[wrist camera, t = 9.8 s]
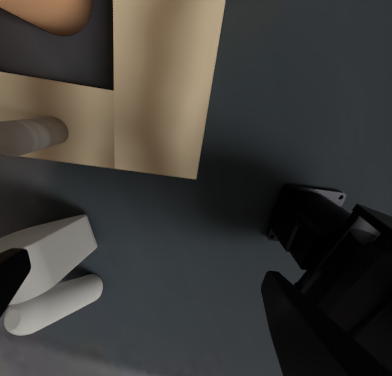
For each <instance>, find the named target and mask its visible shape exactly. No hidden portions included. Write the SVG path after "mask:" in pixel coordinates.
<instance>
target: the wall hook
mask: <svg viewBox="0 0 392 376" xmlns="http://www.w3.org/2000/svg"><path fill="white" fill-rule="evenodd" d="M11 248H24V249H26V250H27V251H28V254H29V258H30V262H31V270H30V272H29V274H28V276H27V277H26V279H25V280H24V282H23V283H22V285H21V287H20V288H19V290H18V291H17V293H16V294H15V296H14V297H13V299H12V301H11V302H10V304H9V305H11V306H10V307H9V309H8V310H7V312H6V314H5V317H4V325H5V328H6V330H7V331H8V332H10V333H12V334H15V335H27V334H31V333H34V332H36V331H38V330H40V329H42V328H44V327H46V326H48V325H50V324H52V323H53V322H55V321H57V320H59V319H61V318H63V317H65V316H67V315H69V314H71V313H73V312H75V311H77V310H78V309H80V308H82V307H84V306H86V305H88V304H90V303H92V302H94V301H96V300H97V299H98V298H99V297H100V295H101V293H102V290H103V284H102V281H101V279H100V278H99V277H98V276H97V275H95V274H89V275H86V276H82V277H79V278H76V279H72V280H69V281H66V282H62V283H59V284H57V283H58V282H59V281H60V280H61V279H62V278H64V277H65V276H66V275H67V274H68V273H69V272H70V271H71V270H72V269H74V268H75V267H76V266H77V265H78V264H79V263H80V262H81V261H83V260H84V259H85V258H86V257H87V256H88V255H89V254H90V253H91V252H93V251H94V250H95V249H96V248H97V243H96V240H95V237H94V235H93V232H92V229H91V226H90V223H89V220H88V218H87V215H85V214H84V215H78V216H74V217H70V218H66V219H62V220H58V221H54V222H49V223H45V224H41V225H37V226H33V227H29V228H26V229H23V230H20V231H17V232H14V233H11V234H9V235H6V236H4V237H1V238H0V253H1V252H3V251H6V250H8V249H11Z"/></svg>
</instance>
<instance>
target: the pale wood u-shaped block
mask: <svg viewBox="0 0 392 376" xmlns="http://www.w3.org/2000/svg"><path fill="white" fill-rule="evenodd" d="M224 6H225V0H113V47H114V91H112V90H106V89H100V88H94V87H88V86H82V85H76V84H70V83H64V82H58V81H52V80H46V79H40V78H34V77H28V76H23V75H17V74H11V73H5V72H0V154H3V155H5V156H8V157H17V156H22V157H30V158H37V159H45V160H52V161H60V162H68V163H75V164H83V165H90V166H98V167H105V168H113V169H121V170H128V171H136V172H143V173H151V174H159V175H166V176H174V177H181V178H189V179H196V177H197V171H198V165H199V159H200V153H201V147H202V141H203V134H204V128H205V122H206V116H207V110H208V104H209V98H210V92H211V86H212V80H213V74H214V67H215V61H216V55H217V49H218V43H219V37H220V31H221V25H222V19H223V13H224Z"/></svg>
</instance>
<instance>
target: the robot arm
mask: <svg viewBox="0 0 392 376" xmlns="http://www.w3.org/2000/svg"><path fill="white" fill-rule="evenodd" d="M288 188H290V189H289V191H287V189H288ZM340 195H341V196H340ZM339 196H340V197H339ZM338 197H339V198H338ZM345 198H346V194H345V193H343V192H341V191H334V190H327V189H320V188H312V187H305V186H298V185H290V184H287V185H285V186H283V188H282V191H281V194H280V196H279V199H278V202H277V204H276V205H275V207H274V210H273V213H272V216H271V219H270V221H269V228H268V230H267V233H266V236H267V238H268V239H269V240H273V241H280V243H281V244H282V246H283V247H284V249H285V250H286V251H287V252H290V253H291V255H292V256H293V258H294V259H295V261H296V262H297V264H298V265H299V267H300V268H301V269H303V270H307V271H306V272H305V273H304V274H303V276H302V277H301V278H300V280H299V281H298V282H296V283H295V284H294V285H293V284H291V283H290V282H289V281H288V280H287V279H286V278H285V277H284V276H282V275H281V274H280V273H279V272H277V271H267V273H266V275H265V277H264V280H263V282H262V285H261V293H262V297H263V302H264V307H265V311H266V316H267V321H268V326H269V330H270V334H271V338H272V341H273V344H274V348H275V351H276V354H277V357H278V361H279V364H280V367H281V370H282V373H283V376H392V217H391V216H388V215H386V214H383V213H380V212H378V211H375V210H373V209H370V208H367V207H365V206H362V205H359V204H356V205H355V207H354V208H353V209H352V210H353V212H352V213H351V214H350V213H349V212H347V211H346V210H344V209H343V208H341V206H342V204H343V202H344V200H345ZM270 235H272V236H270ZM30 270H31V262H30V258H29V254H28V251H27V250H26V249H24V248H11V249H8V250H6V251H3V252H1V253H0V317H1V316H2V314H3V313H4V311H5V310H6V308H7V307H8V305H9V304H10V302H11V301H12V299H13V297H14V296H15V294H16V293H17V291H18V290H19V288H20V287H21V285H22V283H23V282H24V280H25V279H26V277H27V276H28V274H29V272H30Z"/></svg>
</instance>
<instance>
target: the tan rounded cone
mask: <svg viewBox="0 0 392 376" xmlns="http://www.w3.org/2000/svg"><path fill="white" fill-rule="evenodd" d="M92 5H93V0H0V8H2V9H4V10H6V11H8V12H10V13H12V14H14V15H16V16H18V17H20V18H22V19H24V20H26V21H28V22H30V23H32V24H34V25H36V26H37V27H39V28H41V29H43V30H45V31H47V32H49V33H52V34H54V35H58V36H71V35H74V34H76V33H78V32H80V31H81V30H82V29H83V28H84V27H85V26H86V24H87V22H88V21H89V18H90V16H91V12H92Z"/></svg>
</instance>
